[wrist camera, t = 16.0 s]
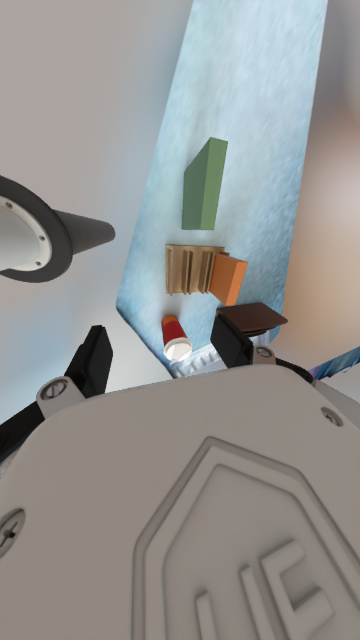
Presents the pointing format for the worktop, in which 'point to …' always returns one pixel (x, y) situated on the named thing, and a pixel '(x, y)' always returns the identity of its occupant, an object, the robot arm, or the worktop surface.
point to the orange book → (227, 278)
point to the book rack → (190, 268)
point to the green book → (203, 186)
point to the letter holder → (253, 318)
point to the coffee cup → (175, 339)
